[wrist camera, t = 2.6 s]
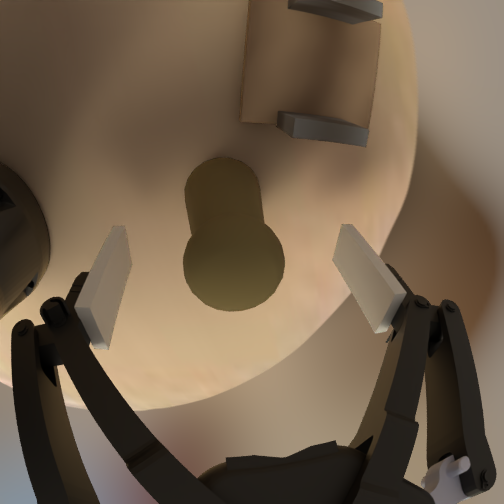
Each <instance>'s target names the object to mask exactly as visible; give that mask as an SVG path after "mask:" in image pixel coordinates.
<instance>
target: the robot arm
mask: <svg viewBox="0 0 504 504" xmlns="http://www.w3.org/2000/svg"><path fill="white" fill-rule="evenodd" d="M49 257H50V243H49V235H48V230H47V227H46V223H45V220H44V217H43V214H42V212H41V210H40V207H39V205H38V203H37V201H36V200H35V198H34V196H33V194H32V193H31V191H30V190H29V188H28V187H27V186H26V184H25V183H24V182H23V181H22V180H21V179H20V177H19V176H18V175H17V174H15V173H14V172H13V171H12V170H11V169H9V168H8V167H6V166H5V165H3V164H1V163H0V320H1V318H3V317H4V316H5V315H6V314H7V313H8V312H9V311H11V310H12V309H13V308H14V307H15V306H16V305H18V304H19V303H20V302H21V301H22V300H24V299H25V298H26V297H27V296H29V295H30V294H31V293H32V292H33V291H34V290H35V288H36V287H37V285H38V284H39V282H40V280H41V278H42V277H43V275H44V273H45V271H46V269H47V266H48V263H49ZM332 260H333V262H334V263H335V265H336V267H337V268H338V270H339V272H340V273H341V275H342V277H343V278H344V280H345V282H346V283H347V285H348V287H349V289H350V290H351V292H352V294H353V295H354V297H355V299H356V301H357V302H358V304H359V306H360V307H361V309H362V311H363V313H364V315H365V316H366V318H367V320H368V322H369V324H370V326H371V327H372V329H373V331H374V333H381V332H386V331H387V329H388V327H389V326H390V324H391V325H392V326H393V328H394V329H393V331H392V332H391V334H390V336H389V338H388V339H387V341H386V343H387V342H388V341H389V343H388V347H387V350H386V354H385V357H384V361H383V364H382V367H381V370H380V373H379V376H378V379H377V382H376V386H375V388H374V391H373V394H372V397H371V399H370V402H369V405H368V407H367V410H366V413H365V415H364V417H363V420H362V422H361V425H360V427H359V430H358V432H357V434H356V436H355V438H354V439H353V440H352V442H351V443H350V445H349V446H348V447H347V446H339V445H337V444H336V441H331V442H327V443H323V444H318V445H314V446H310V447H308V448H306V449H304V450H301V451H299V452H297V453H295V454H293V455H290V456H288V457H284V458H279V457H267V456H257V455H252V456H241V457H228V458H226V462H224V463H221V464H218V465H216V466H214V467H212V468H210V469H209V470H207V471H205V472H204V473H203V474H202V475H200V476H199V477H198V478H196V477H195V476H194V475H192V473H190V472H189V471H188V470H187V469H186V468H185V467H184V466H183V465H182V464H181V463H180V462H179V461H178V460H177V459H176V458H175V457H174V456H173V455H172V454H171V453H170V452H169V451H168V450H167V449H166V448H165V447H164V446H163V445H162V443H160V442H159V441H158V440H157V439H156V437H155V436H154V435H153V434H152V433H151V432H150V431H149V429H148V428H147V427H146V426H145V425H144V423H143V422H142V421H141V420H140V419H139V417H138V416H137V415H136V414H135V412H134V411H133V410H132V409H131V407H130V406H129V405H128V403H127V402H126V401H125V399H124V398H123V397H122V395H121V394H120V393H119V391H118V390H117V389H116V387H115V386H114V384H113V383H112V381H111V380H110V379H109V377H108V376H107V374H106V373H105V371H104V370H103V368H102V367H101V365H100V363H99V362H98V360H97V359H96V357H95V356H94V354H93V352H92V351H91V349H90V347H89V344H90V341H91V343H92V345H93V347H94V349H106V350H109V346H110V341H111V337H112V333H113V329H114V325H115V321H116V317H117V314H118V310H119V306H120V303H121V299H122V296H123V292H124V289H125V286H126V282H127V279H128V276H129V273H130V270H131V267H132V261H131V256H130V251H129V246H128V240H127V234H126V229H125V226H113V227H112V229H111V231H110V233H109V235H108V237H107V238H106V240H105V242H104V244H103V246H102V248H101V250H100V252H99V254H98V256H97V258H96V260H95V262H94V264H93V266H92V268H91V270H90V272H81V273H80V274H79V275H78V276H77V277H76V278H75V280H74V282H73V284H72V287H71V289H70V291H69V293H68V295H67V297H66V299H65V300H64V299H63V298H61V297H53V298H50V299H48V300H46V301H45V302H44V303H43V304H42V306H41V308H40V315H41V317H42V318H43V320H44V322H45V324H42V325H38V326H34V324H33V322H32V321H31V320H28V319H24V320H21V321H19V322H18V323H16V324H15V326H14V327H13V329H12V335H11V365H12V384H13V396H14V405H15V412H16V420H17V426H18V432H19V437H20V442H21V446H22V451H23V455H24V459H25V463H26V467H27V471H28V474H29V478H30V481H31V484H32V487H33V490H34V493H35V496H36V498H37V504H100V502H99V500H98V498H97V495H96V493H95V491H94V488H93V486H92V484H91V481H90V479H89V477H88V474H87V472H86V469H85V467H84V464H83V462H82V459H81V456H80V453H79V451H78V448H77V445H76V442H75V439H74V436H73V432H72V429H71V426H70V422H69V419H68V415H67V412H66V407H65V403H64V399H63V394H62V390H61V385H60V380H59V375H58V369H57V366H58V365H63V364H64V366H65V368H66V370H67V372H68V374H69V376H70V378H71V380H72V382H73V383H74V385H75V387H76V389H77V391H78V393H79V394H80V396H81V398H82V400H83V401H84V403H85V405H86V406H87V408H88V410H89V411H90V413H91V415H92V416H93V417H94V419H95V421H96V422H97V424H98V425H99V427H100V428H101V430H102V431H103V433H104V434H105V436H106V437H107V439H108V440H109V441H110V443H111V444H112V446H113V447H114V448H115V449H116V451H117V452H118V454H119V455H120V456H121V458H122V459H123V460H124V462H125V463H126V466H127V468H128V469H129V471H130V472H131V473H132V474H133V476H134V477H135V478H136V479H137V480H138V482H139V483H140V484H141V485H142V486H143V487H144V488H145V489H146V490H147V492H148V493H149V494H150V495H151V496H152V497H153V498H154V499H155V500H156V501H157V502H158V503H159V504H457V503H459V502H460V501H463V500H466V499H468V498H471V497H473V496H475V495H478V494H480V493H483V492H485V491H487V490H489V489H490V488H491V487H492V486H493V485H494V483H495V480H496V468H495V464H494V461H493V457H492V454H491V451H490V448H489V445H488V442H487V439H486V436H485V429H484V418H483V409H482V402H481V396H480V389H479V384H478V378H477V373H476V369H475V364H474V360H473V355H472V351H471V347H470V343H469V339H468V336H467V332H466V329H465V325H464V322H463V319H462V316H461V313H460V310H459V308H458V306H457V305H456V304H455V303H454V302H453V301H450V300H446V299H445V300H443V301H442V302H441V304H440V306H434V305H431V304H430V303H429V301H428V300H427V299H425V298H424V297H422V296H419V295H414V294H413V293H412V291H411V290H410V288H409V287H408V286H407V285H406V283H405V282H404V281H403V280H402V278H401V277H400V276H399V274H398V273H397V272H396V270H395V269H394V268H393V267H391V266H390V265H389V264H384V262H383V261H382V260H381V259H380V257H379V256H378V255H377V254H376V252H375V251H374V250H373V249H372V247H371V246H370V245H369V244H368V243H367V241H366V240H365V239H364V238H363V237H362V235H361V234H360V233H359V232H358V231H357V230H356V228H355V227H354V226H353V225H352V224H342V225H341V229H340V233H339V237H338V241H337V245H336V248H335V252H334V256H333V259H332ZM424 370H425V382H426V397H427V467H428V471H427V473H426V476H425V477H423V479H422V481H421V485H422V487H423V488H424V489H422V488H420V487H418V486H417V485H415V484H413V483H411V482H409V481H408V480H406V479H404V478H403V477H404V475H405V472H406V469H407V466H408V463H409V460H410V457H411V454H412V450H413V447H414V444H415V440H416V437H417V432H418V428H419V424H418V422H415V414H416V410H417V406H418V402H419V397H420V392H421V387H422V382H423V376H424Z"/></svg>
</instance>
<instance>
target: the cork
mask: <svg viewBox="0 0 504 504" xmlns="http://www.w3.org/2000/svg"><path fill="white" fill-rule="evenodd" d="M185 202H186V208H187V213H188V219H189V224H190V229H191V234H192V236H191V238H190V239H189V241H188V243H187V246H186V249H185V253H184V257H183V267H184V276H185V279H186V282H187V284H188V285H189V287H190V289H191V291H192V293H193V294H194V295H196V296H197V297H198V298H199V299H200V300H201V301H202V302H203V303H205V304H206V305H208V306H210V307H212V308H215V309H217V310H223V311H243V310H246V309H250V308H253V307H256V306H257V305H259V304H261V303H263V302H265V301H266V300H267V299H268V298H269V297H270V296H271V295H272V294H273V293H274V292H275V291H276V289H277V287H278V285H279V283H280V282H281V280H282V278H283V273H284V267H285V258H284V253H283V249H282V245H281V243H280V241H279V239H278V238H277V236H276V235H275V234H274V232H273V231H272V229H271V228H270V227H268V226H267V225H266V224H265V223H264V216H263V209H262V201H261V194H260V187H259V184H258V180H257V177H256V176H255V174H254V173H253V171H252V170H251V168H249V167H248V166H247V165H245V164H244V163H242V162H241V161H238V160H235V159H231V158H215V159H212V160H209V161H206V162H204V163H203V164H201V165H200V166H198V167H197V168H196V169H195V170H194V171H193V172H192V174H191V175H190V176H189V178H188V180H187V183H186V187H185Z"/></svg>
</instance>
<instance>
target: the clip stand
mask: <svg viewBox="0 0 504 504" xmlns="http://www.w3.org/2000/svg"><path fill="white" fill-rule="evenodd" d="M382 14H383V3H381V2H379V1H376V0H249V7H248V17H247V28H246V39H245V51H244V63H243V76H242V89H241V102H240V117H239V120H240V121H241V122H253V123H269V124H277V125H276V127H278V128H279V129H281V130H282V131H284V132H285V133H286V134H288V135H289V136H291V137H292V138H300V139H310V140H319V141H328V142H335V143H342V144H349V145H356V146H362V147H366V144H367V139H368V134H369V129H368V128H369V123H370V117H371V110H372V104H373V97H374V90H375V82H376V74H377V66H378V56H379V45H380V33H381V24H380V23H377V22H375V21H372V20H374V19H379V18H382Z"/></svg>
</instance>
